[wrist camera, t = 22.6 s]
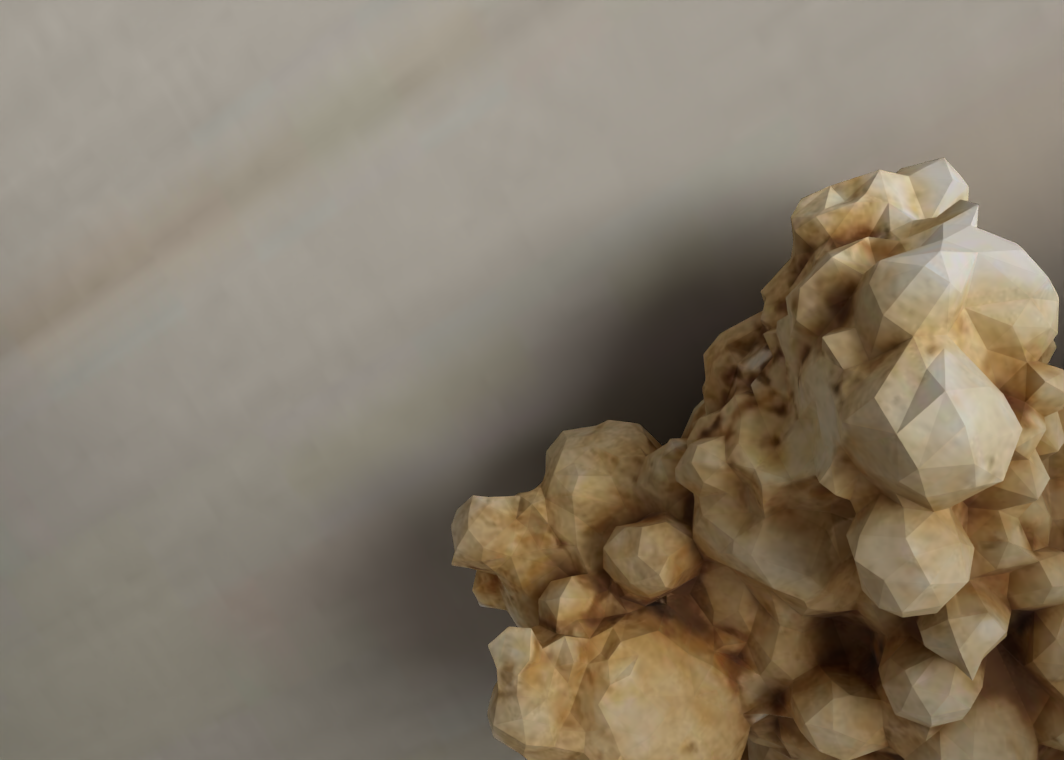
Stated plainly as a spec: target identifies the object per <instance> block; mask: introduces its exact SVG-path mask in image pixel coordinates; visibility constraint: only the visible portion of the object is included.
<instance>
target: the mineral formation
mask: <svg viewBox="0 0 1064 760" xmlns="http://www.w3.org/2000/svg"><path fill="white" fill-rule="evenodd" d="M968 194H969V186H968V185H967V183H966V182H965V181H964V179H963V178H962V177H961V176H960V175H959V174H958V172H957V171H956V170H955V169H954V168H953V167H952V166H951V165H950V164H949V163H948V161H947V160H946V159H945V158H940V159H936V160H933V161H929V162H925V163H921V164H917V165H913V166H909V167H905V168H901V169H900V170H899V171H898V172H897V173H892V172H887V171H883V170H877V171H874V172H871V173H868V174H865V175H862V176H859V177H856V178H853V179H850V180H847V181H844V182H841V183H838V184H835V185H832V186H829V187H827V188H824V189H822V190H820V191H818V192H815V193H813V194H811V195H809V196H806V197H804V198H802V199H801V200H800V202H799V204H798V206H797V207H796V209H795V211H794V213H793V215H792V216H791V224H792V233H793V247H792V253H791V258H790V260H789V261H788V262H787V263H786V264H785V265H784V266H783V267H782V268H781V269H780V271H779V272H778V273H777V274H776V275H775V276H774V277H773V278H772V279H771V280H770V282H769V283H768V284H767V285H766V286H765V287H764V288H763V289H762V290H761V291H760V292H761V295H762V298H763V301H764V308H763V311H761V312H759V313H757V314H755V315H753V316H752V317H750V318H748V319H746V320H744V321H742V322H740V323H738V324H737V325H735V326H733V327H731V328H729V329H727V330H726V331H724V332H722V333H720V334H719V336H718V337H717V338H716V339H715V341H714V342H713V343H712V344H711V345H710V347H709V348H708V349H707V350H706V352H705V353H704V354H703V358H704V368H705V377H706V380H705V382H704V385H703V387H702V391H703V396H704V400H702V401H701V402H700V403H699V404H698V405H697V406H696V407H695V408H694V409H693V412H692V414H691V416H690V418H689V421H688V423H687V425H686V428H685V430H684V432H683V435H682V437H681V438H676V439H670V440H669V441H668V443H667V444H665V445H663V446H662V445H661V444H660V443H659V442H658V441H657V440H656V439H655V438H654V437H653V436H651V435H650V434H649V433H648V432H647V431H646V430H645V429H644V428H643V427H642V426H641V425H640V424H637V423H631V422H623V421H614V420H607V421H605V422H603V423H601V424H599V425H597V426H590V427H584V428H578V429H572V430H565V431H562V432H561V434H560V435H559V436H558V437H557V439H556V440H555V441H554V442H553V443H552V445H551V446H550V447H549V448H548V450H547V451H546V470H545V476H544V478H543V481H542V483H541V484H539V485H538V486H537V487H536V488H535V489H533V490H531V491H528V492H521V493H517V494H516V495H515V496H505V497H484V496H475V495H473V496H472V497H471V498H469V499H468V500H467V501H466V502H465V503H464V504H463V505H462V506H460V507H459V508H458V509H457V511H456V513H455V516H454V519H453V522H452V525H451V532H452V538H453V544H454V551H455V552H454V556H453V560H452V566H459V567H466V568H471V569H475V570H477V571H476V576H475V580H474V585H473V589H472V591H473V593H474V594H475V596H476V598H477V600H478V603H479V605H480V606H481V607H488V608H495V609H502V610H507V611H508V613H509V614H510V616H511V617H512V619H513V621H514V622H515V624H516V625H517V627H507V628H506V629H505V630H504V631H503V632H502V633H501V634H500V635H499V636H498V637H496V638H495V639H494V640H493V641H492V642H491V643H490V644H489V645H488V647H489V650H490V652H491V655H492V658H493V660H494V663H495V665H496V668H497V679H498V681H497V683H496V684H495V686H494V688H493V692H492V695H491V699H490V702H489V707H488V712H487V716H488V720H489V723H490V727H491V730H492V734H493V737H494V738H495V739H497V740H499V741H500V742H502V743H503V744H505V745H507V746H508V747H510V748H511V749H513V750H515V751H516V752H518V753H520V754H521V755H523V756H524V757H525V758H526V759H527V760H1064V370H1063V369H1060V368H1057V367H1054V366H1051V365H1048V363H1049V361H1050V359H1051V357H1052V355H1053V353H1054V351H1055V349H1056V345H1055V342H1054V340H1053V339H1054V338H1055V337H1056V335H1057V334H1058V314H1059V296H1058V294H1057V292H1056V290H1055V288H1054V287H1053V285H1052V283H1051V281H1050V279H1049V278H1048V276H1047V275H1046V274H1045V273H1044V272H1043V271H1042V269H1041V268H1040V267H1039V266H1038V265H1037V264H1036V263H1035V262H1034V261H1033V260H1032V258H1031V257H1030V256H1029V255H1028V254H1027V253H1026V252H1025V251H1024V250H1023V249H1022V248H1021V247H1020V246H1019V245H1018V244H1017V243H1015V242H1012V241H1010V240H1007V239H1005V238H1002V237H999V236H997V235H994V234H992V233H989V232H987V231H984V230H982V229H979V228H977V219H978V204H976V203H972V202H968Z"/></svg>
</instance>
